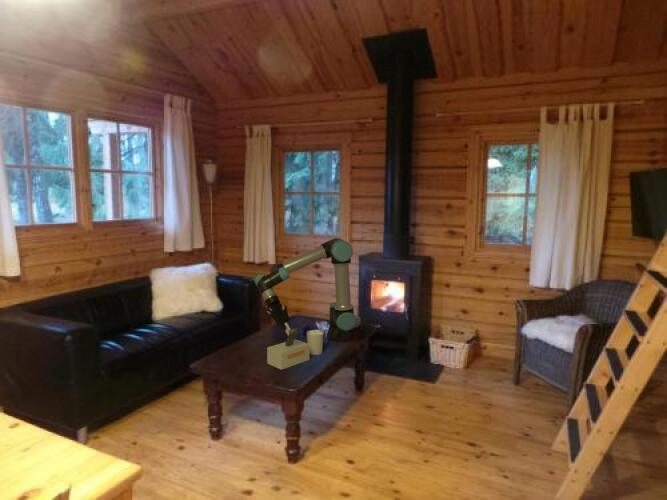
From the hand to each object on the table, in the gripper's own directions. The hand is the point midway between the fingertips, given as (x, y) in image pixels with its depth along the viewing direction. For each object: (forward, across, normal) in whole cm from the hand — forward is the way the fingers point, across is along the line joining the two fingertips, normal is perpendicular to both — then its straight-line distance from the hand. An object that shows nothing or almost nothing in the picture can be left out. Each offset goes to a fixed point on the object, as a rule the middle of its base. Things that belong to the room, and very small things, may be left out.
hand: (290, 334), depth 251 cm
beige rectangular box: (+10, 0, -12) cm, 16 cm away
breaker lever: (+4, 0, -6) cm, 7 cm away
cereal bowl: (-2, -68, -25) cm, 73 cm away
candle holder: (+11, -20, -12) cm, 26 cm away
